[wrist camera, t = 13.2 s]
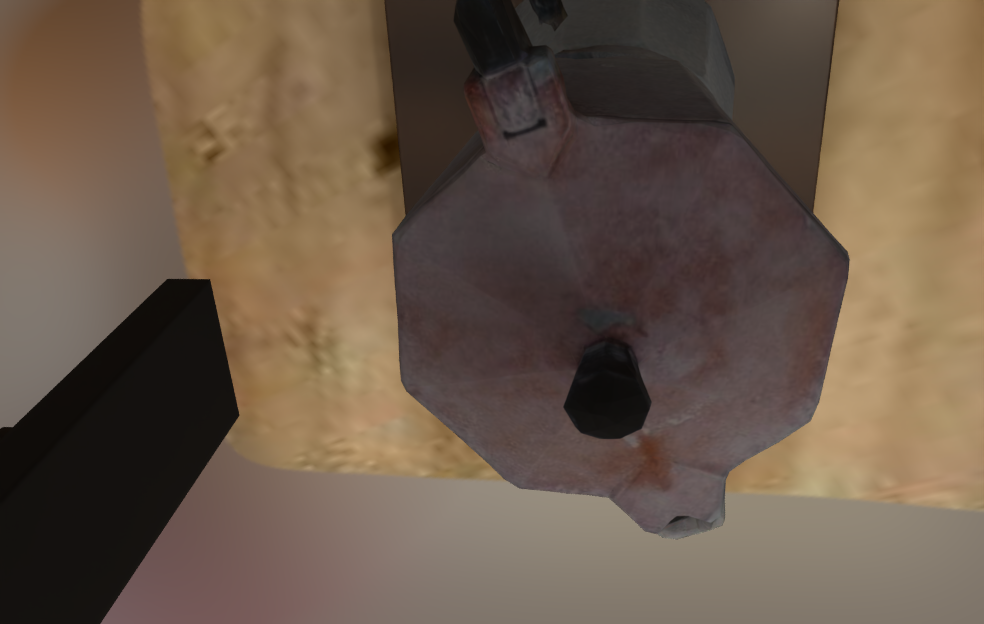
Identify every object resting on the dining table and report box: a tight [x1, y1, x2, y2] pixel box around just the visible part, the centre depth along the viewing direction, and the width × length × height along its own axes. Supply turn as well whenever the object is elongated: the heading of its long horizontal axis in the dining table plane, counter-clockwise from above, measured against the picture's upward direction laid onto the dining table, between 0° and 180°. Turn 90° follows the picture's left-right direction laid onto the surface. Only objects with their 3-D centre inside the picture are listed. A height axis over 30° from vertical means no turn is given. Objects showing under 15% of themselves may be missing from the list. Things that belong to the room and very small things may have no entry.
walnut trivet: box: [384, 0, 839, 215], centre depth 33 cm, size 20×16×1 cm
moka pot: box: [392, 0, 850, 539], centre depth 24 cm, size 10×15×20 cm, turn 26°
